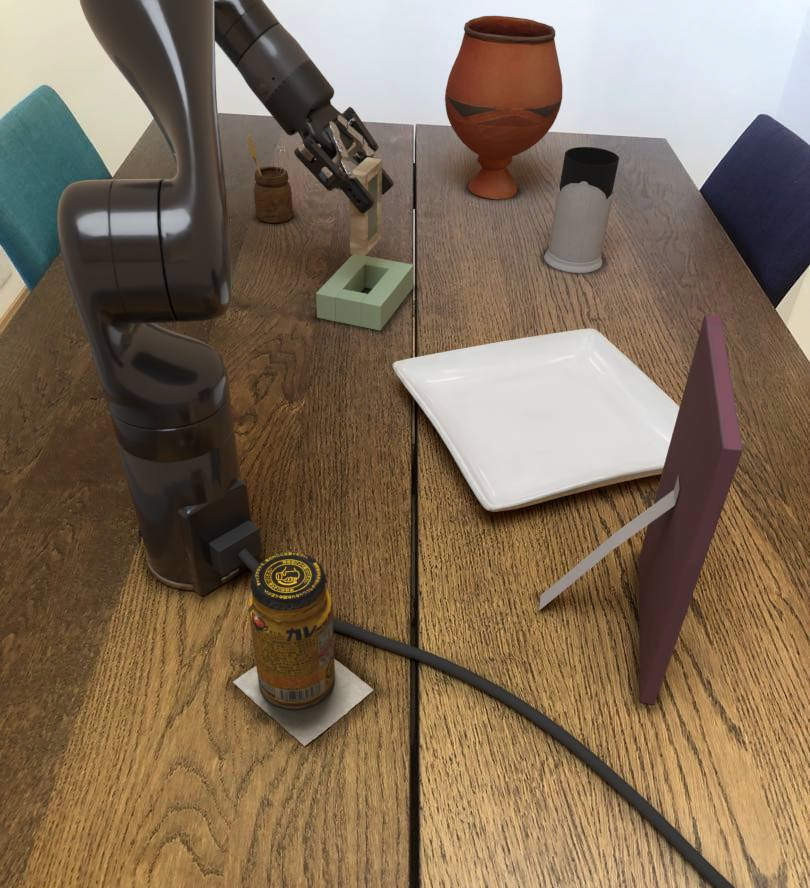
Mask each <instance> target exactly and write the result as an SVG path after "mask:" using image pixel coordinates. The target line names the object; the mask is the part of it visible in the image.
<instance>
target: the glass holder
mask: <svg viewBox="0 0 810 888" xmlns="http://www.w3.org/2000/svg"><path fill="white" fill-rule="evenodd" d="M619 162H620V157H619V155H617V153H615V152H613V151H610V150H608V149H604V148H601V147H593V146H578V147H577V146H576V147H571V148H569V149H567V150H565V152H564V156H563V161H562V169H561V175H560V182H559V184H558V188H557V193H556V199H555V206H554V212H553V218H552V224H551V231H550V236H549V242H548V243H549V244H548V248H547V251H545V254H544V255H543V259H544V262H545V263H546V264H547V265H548V266H550V267H552V268H553V269H556V270H559V271H561V272H562V271H563V272H566V273H573V274H574V273H575V274H585V273H592V272H595V271H597V270H599V269H600V268H602V266H603V258H602V252H603V247H604V243H605V237H606V231H607V227H608V222H609V217H610V212H611V208H612V204H613V203H612V202H613V197H614V187H615V181H616V176H617V171H618V167H619Z"/></svg>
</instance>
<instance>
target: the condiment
mask: <svg viewBox="0 0 810 888" xmlns="http://www.w3.org/2000/svg"><path fill="white" fill-rule="evenodd" d="M249 585H250V600H249V603H248V616H249V624H250V629H251V639H252V646H253V654H254V660H255V666H253V667H252V668H250V669H249V670H247V671H246V672H245V673H243V674H242V675H239V677H237V678H236V679H234V680H233V682H232V683H233V684H234V685H235V686H237V687H238V688H239V689H240V690H241V691H242V692H243V694H245V695H246V696H247V697H248V698H250V699H251V701H253V702H254V703H255V704H256V705H257V706H258V707H259V708H261V709H262V711H264V712H265V713H266V714H267V715H268V716H269V717H271V718H272V719H274V720H275V721H276V722H277V723H278V725H280V726H281V727H282V728H283V729H284V730H285V731H286V732H287V733H289V734H290V735H291V736H292V737H294V738H295V739H296V740H297V741H298V742H299V743H300V744H301V745H302V746H303V747H306V746H307V745H308V744H310V743H311V742H312V741H313V740H315V739H317V738H318V737H319V736H320V735H321V734H323V733H324V732H325V731H326V730H327V729H328V728H330V727H332V726H334V724H335V723H337V722H338V721H339V720H340V719H341V718H342V717H344V716H346V715H347V714H348V713H349V712H350V711H351V710H352V709H353V708H354V707H356V705H358V704H359V703H360V702H362V701H363V700H364V699H365V698H366V697H367V696H369V695H370V693H372V692H373V691H374V689H373V688H372V687H371V686H369V685H368V683H366V682H365V681H363V680H362V679H360V677H359V676H358V675H356V674H355V673H354V672H352V671H351V670H350V669H349V668H348V667H347V666H345V665H344V664H342V663H341V662H340V661H338V660H337V659H336V658H335V649H334V648H335V647H334V644H335V640H334V639H335V635H334V631H333V619H334V614H333V607H334V606H333V600H332V598H331V595H330V593H329V591H328V587H327V575H326V573H325V571H324V568H323V566H322V565H321V564H320V563H319V561H317V560H316V558H313V557H311V556H310V555H308V554H305V553H301V552H296V551H286V552H280V553H276V554H272V555H270V556H268V557H267V558H265V559H264V560H262V561H260V562H259V564H258V566H257V567H256V568H255V570H254V572H252V575H251V577H250V581H249Z"/></svg>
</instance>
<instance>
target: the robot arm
mask: <svg viewBox="0 0 810 888" xmlns="http://www.w3.org/2000/svg"><path fill="white" fill-rule="evenodd" d="M79 5H80V8H81V11H82V13H83V16H84V18H85V20H86V22H87V24H88V26H89V27H90V30H91V32H92V33H93V35H94V37H95V39H96V40H97V42H98V43H99V45H100V47H101V48H102V49H103V50H104V52H105V53H106V55H107V57H108V58H109V59H110V60H111V62H112V64H114V65H115V67H116V68H117V70H118V71H119V72H120V73H121V75H122V76H123V77H124V79H125V80H126V81H127V83H128V84H129V85H130V86H131V88H132V89H133V90H134V92H135V93H136V94H137V95H138V97H139V98H140V99H141V102H143V104H144V105H145V106H146V108H147V109H148V111H149V113H150V115H151V117H152V118H153V119H154V121H155V123H156V125H157V127H158V128H159V130H160V132H161V133H162V135H163V137H164V139H165V141H166V143H167V145H168V147H169V149H170V151H171V153H172V156H173V159H174V161H175V164H176V174H175V176H174V177H173V178H163V179H162V178H129V179H126V178H125V179H124V178H122V179H121V178H119V179H87V180H79V181H74V182H72V183H70V184H69V185H67V186H66V188H65V189H63V192H62V193H61V196H60V198H59V201H58V206H57V207H58V208H57V213H56V227H57V238H58V245H59V250H60V254H61V260H62V264H63V268H64V271H65V275H66V278H67V282H68V286H69V288H70V291H71V294H72V298H73V300H74V303H75V306H76V309H77V312H78V315H79V319H80V321H81V325H82V327H83V330H84V333H85V336H86V339H87V342H88V345H89V349H90V353H91V356H92V360H93V364H94V367H95V370H96V375H97V377H98V380H99V383H100V385H101V388H102V391H103V393H104V397H105V401H106V404H107V408H108V412H109V416H110V420H111V423H112V427H113V431H114V435H115V439H116V444H117V448H118V451H119V455H120V459H121V463H122V468H123V470H124V474H125V478H126V482H127V486H128V490H129V494H130V497H131V498H130V499H131V500H132V505H133V510H134V513H135V517H136V520H137V521H136V522H137V524H138V537H137V542H138V546H139V549H140V550H141V548H142V543H143V547H144V550H145V558H146V563H147V567H148V569H149V572H150V573H151V574H152V576H153V577H154V578H155V579H156V580H158V581H159V582H160V583H161V584H164V585H165V586H168V587H171V588H174V589H177V590H183V591H193V592H196V594H198V595H199V596H201V597H203V596H206V595H207V594H209V593H211V592H212V591H214V590H215V589H217V588H219V587H220V586H222V585H224V584H226V583H227V582H229V581H231V580H233V579H234V578H235V577H237V576H238V575H241V573H243V572H245V571H246V570H248V569H249V570H250V572H252V573H253V572H254V570H255V568H256V567H257V566H258V564H259V563H260V562H259V561H258V559H257V556H258V555H259V554H261V553H262V552H263V547H262V540H261V532H260V531H261V530H260V528H259V526H257V525H256V524H254V522H253V520H252V512H251V505H250V498H249V497H250V496H249V489H248V485H247V483H246V482H245V481H244V480H243V479H242V475H241V473H242V472H241V468H240V459H239V453H238V452H239V451H238V446H237V436H236V429H235V424H234V423H235V422H234V421H235V420H234V415H233V414H234V413H233V406H232V400H231V399H232V398H231V392H230V384H229V377H228V371H227V366H226V363H225V361H224V359H223V357H222V355H221V353H219V351H218V350H217V349H216V348H214V347H213V346H212V345H211V344H209V343H208V342H205V341H203V340H201V339H199V338H196V337H194V336H190V335H187V334H184V333H181V332H180V331H179V332H178V331H175V330H173V329H169V328H167V327H165V326H163V325H161V324H166V323H167V324H169V323H194V322H206V321H207V322H208V321H213V320H217V319H220V318H222V317H223V316H225V314H226V313H227V311H228V310H229V307H230V305H231V302H232V295H233V290H234V255H233V242H232V231H231V221H230V213H229V212H230V211H229V203H228V196H227V185H226V178H225V169H224V168H225V167H224V160H223V158H224V157H223V151H222V142H221V141H222V140H221V132H220V123H219V112H218V111H219V110H218V98H217V97H218V95H217V72H216V71H217V70H216V68H217V67H216V45H217V47H219V48H220V50H221V51H222V52H223V53H224V55H225V56H226V57H227V59H228V60H229V61H230V63H232V65H233V66H234V67H235V68H236V69H237V71H238V72H239V74H240V75H241V77H242V78H243V80H244V81H245V83H246V85H247V86H248V88H249V89H250V90H251V92H252V93H253V94H254V95H255V96H256V98H257V99H258V100H259V101H260V103H261V104H262V105H263V106H264V108H265V109H266V110H267V112H269V113H270V115H271V116H272V118H273V119H274V120H275V121H276V123H277V124H278V125H279V126H280V127H281V129H282V130H283V131H284V133H285V134H286V135H288V136H295V135H296V134H297V133H298V134H299V136H300V138H301V140H302V142H301V143H300V144H299V145H298V146H297V147H296V148H295V149H294V151H293V153H294V155H295V157H296V158H297V159H298V161H300V163H302V164H303V165H304V166H305V168H306V169H307V170H308V171H309V172H310V173H311V174H312V175H313V176H314V177H315V178H316V179H317V181H318V182H319V183H320V184H321V185H322V186H323V187H324V188H325V189H326V190H327V191H328V192H332V191H333V190H334V189H336V190H337V191H342V192H343V193H344V194H345V196H346V197H347V199H349V202H350V201H351V202H352V203H353V204H354V206H355V207H356V208H357V209H358V210H359V212H360V213H362V214H364V213H365V212H367V211H368V210H369V209H370V208H371V207H372V206H373V205H374V204H375V200H374V199H373V197H372V196H371V195H370V194H369V192H368V191H367V190H366V189H365V188H364V186H363V185H362V184H361V183H360V181H359V180H358V179H357V178H356V177H355V178H354V174H353V172H352V170H353V169H352V168H351V166H350V163H349V162H351V163H352V164H354V165H355V166H356V167H357V166H358V165H359V164H360V163H361V162H363V161H364V160H365V159H366V158H367V157H370V158H377V153H376V152H377V151H378V149H379V145H378V143H377V142H376V140H375V139H374V137H373V135H372V134H371V133H370V132H369V130H368V128H367V127H366V125H365V124H364V122H363V121H362V119H361V117H360V116H359V115H358V113H357V112H356V110H355V109H354V108H353V107H351V106H348V107H347V108H346V109H345V110H344V111H343V112H341V111H340V110H338V109H337V108H336V107H335V106H334V105H333V104H332V103H331V100H332V99H333V98H334V96H335V89H334V87H333V86H332V85H331V83H330V82H329V81H328V79H327V78H326V77H325V76H324V74H323V73H322V71H321V70H320V69H319V68H318V67H317V65H316V64H315V63H314V61H313V60H312V59H311V57H310V56H309V55H308V54H307V52H306V51H305V50H304V49H303V47H302V46H301V44H300V43H299V42H298V41H297V39H296V38H295V37H294V36H293V35H292V34H291V33H290V32H289V31H288V30H287V29H286V28H285V27H284V26H283V24H282V23H281V22H280V21H279V19H278V18H277V17H276V15H275V14H274V13H273V11H272V10H271V9H270V8H269V6H268V5H267V4H266V2H264V0H79ZM326 174H327V175H328V176H329V177H328V176H327V175H326ZM353 178H354V179H353ZM393 187H394V180H393V179H392V178H391V176H390V175H389V174H388V173H387V172H386V170H385V169H384V167H382V196H383V195H385V194H386V193H387V192H389V191H390V190H391V189H392V188H393ZM333 632H336V633H340V634H342V635H343V634H344V635H346V636H349V637H352V638H355V639H358V640H360V641H362V642H364V643H367V644H370V645H372V646H376V647H378V648H381V649H384V650H386V651H390V652H393V653H396V654H398V655H402V656H404V657H407V658H409V659H413V660H414V661H417V662H421V663H424V664H426V665H428V666H431V667H433V668H436V669H438V670H440V671H441V672H444V673H446V674H448V675H451V676H453V677H455V678H457V679H459V680H461V681H463V682H465V683H467V684H469V685H471V686H473V687H475V688H477V689H478V690H481V691H482V692H484V693H486V694H488V695H489V696H491V697H493V698H495V699H497V700H498V701H500V702H502V703H503V704H504V705H507V707H510V708H511V709H512V710H514V711H516V712H517V713H518V714H521V715H522V716H523V717H524V718H526V719H528V720H529V721H530V722H532V723H534V724H535V725H537V726H538V727H539V728H541V729H542V730H543V731H545V732H546V733H548V734H549V735H550V736H552V737H553V738H554V739H555V740H557V741H558V742H559V743H561V744H562V745H563V746H565V748H567V749H568V750H569V751H570V752H572V753H573V754H574V755H575V756H577V757H578V758H579V759H580V760H581V761H582V762H584V763H585V764H586V765H587V766H588V767H590V769H592V770H593V771H594V772H595V773H596V774H597V775H598V776H599V777H600V778H602V779H603V780H604V781H605V782H606V783H607V784H608V785H609V786H610V787H612V788H613V789H614V790H615V791H616V792H617V793H618V794H619V795H620V796H621V797H623V799H625V800H626V801H627V802H628V803H629V804H630V805H631V806H632V807H633V808H635V810H637V812H639V814H640V815H642V816H643V817H644V818H645V819H646V821H648V822H649V823H650V824H651V825H652V826H653V827H654V828H655V829H656V830H657V831H658V833H660V834H661V836H663V838H664V839H666V840H667V842H669V844H671V845H672V846H673V848H674V849H675V850H676V851H677V852H678V853H679V854H680V855H682V857H683V858H684V859H685V860H686V862H688V863H689V864H690V865H691V866H692V868H694V869H695V871H697V872H698V873H699V874H700V875H701V876H702V877H703V878H704V879H705V880H706V881H707V882H708V883H709V884H710V885H711V886H712V887H713V888H736V887H735V886H734V885H733V884H732V883H730V881H729V880H728V879H726V878H725V876H724V875H722V873H720V872H719V871H718V870H717V869H716V868H715V867H714V866H713V865H712V864H711V863H710V862H709V861H708V859H706V858H705V857H704V856H703V855H702V854H701V853H700V852H699V851H698V850H697V849H696V848H695V847H694V846H693V845H692V844H691V842H689V841H688V840H687V839H686V838H685V837H684V836H683V835H682V834H681V833H680V832H679V830H677V829H676V828H675V827H674V826H673V825H672V824H671V823H670V822H669V821H668V820H667V819H666V818H665V817H664V816H663V815H662V813H660V812H659V810H657V809H656V808H655V807H654V806H653V805H652V804H651V803H650V802H649V801H648V800H647V799H646V798H645V797H644V796H642V795H641V794H640V792H638V791H637V790H636V789H635V788H634V787H633V786H632V785H630V783H628V782H627V781H626V780H625V779H624V778H622V776H620V775H619V774H618V773H617V772H616V771H615V770H614V769H613V768H611V767H610V766H609V765H608V764H607V763H606V762H604V761H603V759H601V758H600V757H599V756H597V755H596V754H595V753H594V752H593V751H592V750H590V748H589V747H587V746H586V745H585V744H584V743H582V742H581V741H580V740H578V739H577V738H576V737H575V736H574V735H572V734H571V733H570V732H568V731H567V730H566V729H564V727H562V726H561V725H559V724H558V723H557V722H555V721H554V720H552V719H551V718H549V717H548V716H546V715H545V714H544V713H542V712H541V711H540V710H538V709H536V708H535V707H534V706H532V705H531V704H529V703H527V702H525V701H524V700H523V699H522V698H519V696H516V695H515V694H514V693H512V692H510V691H508V690H507V689H506V688H503V687H502V686H500V685H499V684H497V683H495V682H493V681H491V680H489V679H487V678H485V677H484V676H482V675H479V674H478V673H476V672H473V671H472V670H470V669H467V668H465V667H463V666H462V665H459V664H457V663H455V662H453V661H451V660H449V659H447V658H444V657H441V656H439V655H437V654H435V653H432V652H430V651H427V650H424V649H422V648H419V647H416V646H413V645H410V644H407V643H404V642H403V641H399V640H396V639H393V638H390V637H387V636H385V635H382V634H378V633H376V632H373V631H370V630H369V629H365V628H363V627H360V626H357V625H355V624H352V623H349V622H345V621H343V620H339V619H336V618H333Z"/></svg>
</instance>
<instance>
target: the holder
mask: <svg viewBox="0 0 810 888" xmlns="http://www.w3.org/2000/svg"><path fill="white" fill-rule="evenodd" d="M414 267H415V265H414V264H412V263H406V262H402V261H395V260H390V259H384V258H379V257H374V256H368V255H365V256H361V255H355V254H351V256H350V257H349V258H347V259H346V260H345V262H344V263H343V264H342V265H341V266H340V267H339V268H338V269H337V270H336V271H335V273H333V275H332V276H331V277H330V278H329V279H327V281H326V282H325V283H324V284H323V285H322V286H321V287H320V288H319V290H318V291H316V292H315V300H316V301H315V302H316V303H315V304H316V318H317V319H321V320H327V321H331V322H336V323H341V324H346V325H351V326H355V327H360V328H365V329H370V330H375V331H382V329H383V328H384V327H385V325H387V323H388V322H389V321H390V319H391V318H392V316H393V315H394V314H395V312H396V311H397V310H398V308H399V307H400V306H401V304H402V303H403V302H404V300H406V298H407V296H409V294H410V292H411V291H412V290H413V288H414ZM364 289H370V291H369V292H368V293H365V292H363V290H364Z"/></svg>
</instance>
